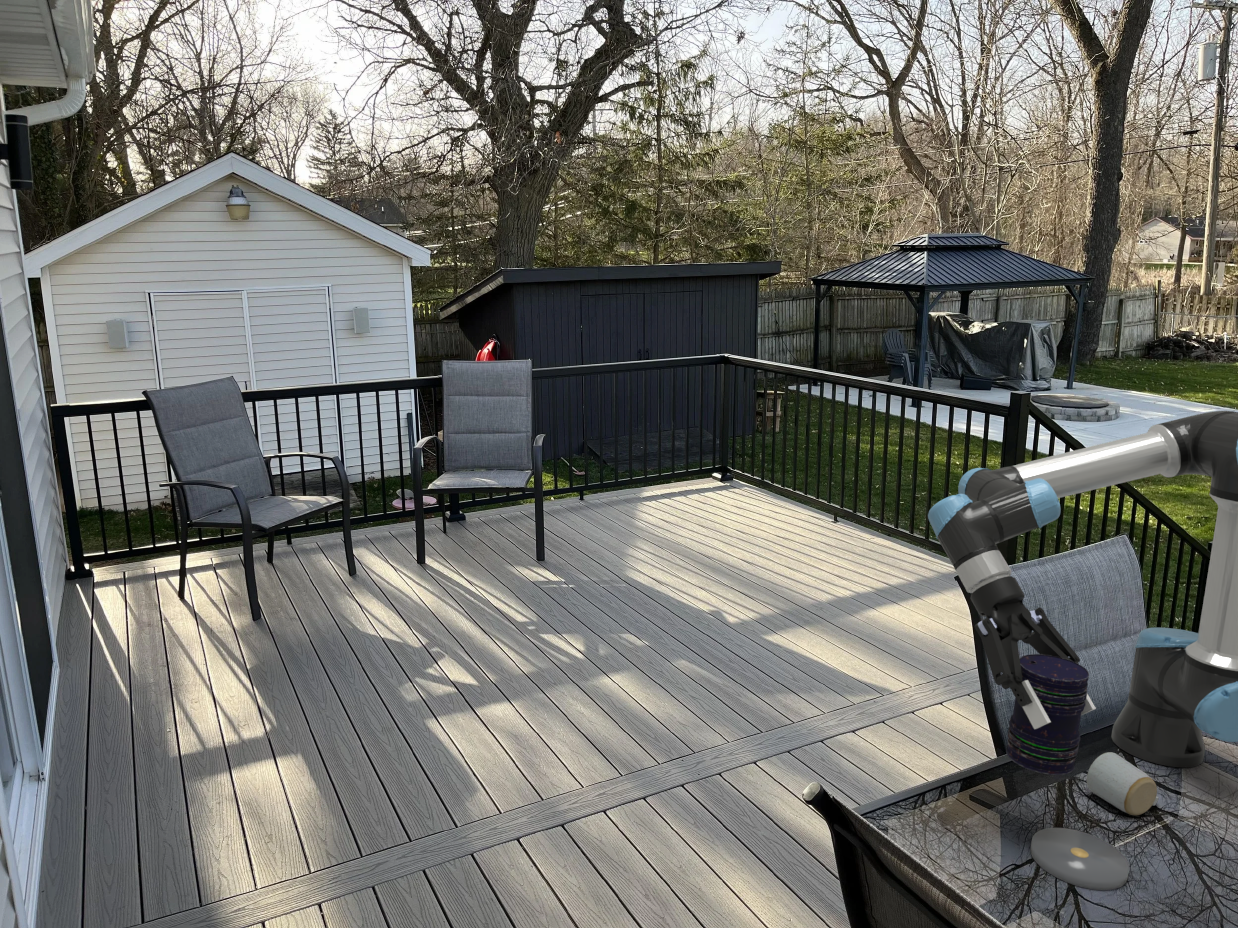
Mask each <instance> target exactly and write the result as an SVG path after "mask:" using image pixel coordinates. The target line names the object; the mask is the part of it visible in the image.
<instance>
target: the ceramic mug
mask: <svg viewBox="0 0 1238 928" xmlns="http://www.w3.org/2000/svg"><path fill="white" fill-rule="evenodd" d="M1086 786H1087V788H1088V789H1089V791H1091V793H1092V794H1094V795H1096V796H1097V797H1099V798H1101V799H1102V800H1104V801H1106V802H1107V803H1109V804H1110V805H1112V806H1113V807H1115V808H1117V809H1119V810H1120V811H1122V812H1123V813H1125V814H1127V815H1129V816H1141V815H1142V814H1144V813H1146V812H1147V811H1149V810H1150V808H1151V807H1152V806H1156V804H1157V803H1158V801H1159V796H1157V795H1158V788H1157V787H1158V786H1157V784H1156V782H1155V780H1153V778H1152V777H1151V776H1149V774H1147V773H1146V772H1145V771H1143V770H1141V769H1139V768H1138V767H1136V766H1135V765H1133V764H1132V763H1131V762H1129V761H1127V760H1126V759H1125V758H1123V757H1122V756H1120V755H1119V754H1118V753H1115V752H1111V751H1110V752H1108V751H1107V752H1104V753H1102V754H1100V755H1099V756H1097V757H1096V758H1095V759H1094V761H1093V762H1092V763H1091V764H1090V767H1089V769H1088V772H1087V775H1086Z"/></svg>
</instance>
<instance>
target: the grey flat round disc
mask: <svg viewBox="0 0 1238 928" xmlns="http://www.w3.org/2000/svg"><path fill="white" fill-rule="evenodd" d="M1031 838H1032V839H1031V842H1030V855H1031V857H1032V859H1033V860H1034V861H1035V863H1036V864H1037V865H1038V867H1040V868H1041V869H1043V870H1044V871H1045V872H1046V873H1048V874H1049V875H1051V876H1053V877H1055V878H1057V879H1059V880H1061V881H1063V882H1065V883H1067V884H1070V885H1073V886H1077V887H1079V888H1083V889H1089V890H1095V891H1110V890H1111V891H1112V890H1117V889H1119V888H1121V887H1123V886H1124V885H1126V883H1127V881H1128V878H1129V871H1130V864H1129V861H1128V859H1127V858H1126V856H1125V855H1124V854H1123V853H1122V852H1121V851H1120V850H1119V849H1118V848H1116V847H1115V846H1114V845H1112V844H1110V843H1109V842H1107V841H1105V840H1104V839H1102V838H1099V837H1097V836H1096V835H1093V834H1090V833H1087V832H1084V831H1081V830H1078V829H1077V830H1076V829H1072V828H1065V827H1048V828H1043V829H1040V830H1038V831H1036V832H1035V833H1034V834H1033V835H1032V837H1031Z"/></svg>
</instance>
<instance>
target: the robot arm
mask: <svg viewBox="0 0 1238 928" xmlns="http://www.w3.org/2000/svg"><path fill="white" fill-rule="evenodd" d="M1157 475H1161V476H1163V477H1165V478H1173V477H1177V476H1181V475H1182V476H1183V475H1199V476H1207V477H1211V480H1210V489H1209V496H1210V497H1211V499H1212V500H1213V501H1214V502H1215V503H1216V504H1217V508H1218V509H1217V513H1216V519H1215V524H1214V525H1215V527H1214V532H1213V539H1212V544H1211V552H1210V558H1209V559H1210V560H1209V564H1208V570H1207V571H1208V572H1207V578H1206V581H1205V582H1206V584H1205V591H1204V596H1203V602H1202V603H1203V604H1202V609H1201V613H1200V614H1201V615H1200V621H1199V628H1198V632H1194V631H1192V630H1185V629H1179V628H1173V627H1172V628H1170V627H1157V626H1156V627H1148V628H1145V629H1142V630H1141V631H1140V632H1139V634H1138V636H1137V640H1136V644H1135V646H1134V648H1135V652H1134V660H1133V664H1132V665H1133V667H1132V671H1131V679H1130V685H1129V689H1128V690H1129V691H1128V698H1127V701H1126V702H1125V703H1126V704H1125V705H1124V707H1123V709H1122V710H1121V711H1120V712H1119V715H1118V717H1117V718H1116V720H1115V721H1114V723H1113V725H1112V730H1111V740H1112V742H1113V743H1114V744H1115V745H1116V746H1117V747H1118V748H1120V749H1121V750H1122V751H1124V752H1125V753H1128V754H1129V755H1130V756H1131V755H1132V756H1133V757H1136V758H1139V759H1140V760H1143V761H1146V762H1150V763H1154V764H1157V765H1161V766H1166V767H1173V768H1192V767H1193V768H1195V767H1197V766H1200V765H1201V764H1202V763H1203V762H1204V757H1205V753H1206V752H1205V751H1206V746H1205V741H1204V736H1203V733H1207V734H1209V735H1210V736H1212V737H1213V738H1215V739H1217V740H1220V741H1223V742H1228V743H1238V411H1234V410H1233V411H1232V410H1215V411H1209V412H1207V411H1206V412H1203V413H1198V414H1194V415H1189V416H1186V417H1181V418H1177V419H1174V420H1173V419H1172V420H1168V421H1165V422H1160V423H1156V424H1153V425H1152V426H1150V427H1149V428H1148V430H1147V432H1145V433H1140V434H1136V435H1133V436H1132V435H1131V436H1129V437H1124V438H1120V439H1116V440H1112V441H1109V442H1104V443H1100V444H1095V445H1092V446H1088V447H1083V448H1079V449H1075V450H1072V451H1067V452H1064V453H1060V454H1055V455H1051V456H1047V457H1043V458H1039V459H1035V460H1031V461H1027V462H1023V463H1018V464H1016V465H1010V466H1004V467H1001V468H996V469H989V468H986V467H985V468H984V467H983V468H982V467H976V468H972V469H970V470H968V471H966V472H965V473H964V474H963V475H962V477H961V478H960V480H959V483H958V487H957V488H958V489H957V490H958V493H957V494H954V495H949V496H947V497H945V498H943V499H941V500H939V501H937V502H936V503H935V504H934V505H933V506H932V507H931V508H930V509H929V511H928V513H927V518H928V521H929V523H930V525H931V527H932V528H931V529H932V530H933V532H934V534H935V536H936V537H935V538H936V540H938V542H939V543H940V545H941V546H942V548H943V551H944V552H945V553H946V554H945V555H947V557H948V559H949V560H950V561H949V562H950V563H951V564H952V566H953V568H954V570H955V572H956V573H957V575H958V577H959V579H960V581H961V583H962V585H963V587H964V588H965V590H966V592H967V593H968V594H969V593H970V601H971V602H972V604H973V606H974V608H975V610H976V611H977V613H978V615H979V616H980V617H984V619H982V620H981V621H979V622H978V623H976V624H974V628H975V631H976V633H977V634H978V635H979V638H980V639H981V643H982V645H983V646H982V647H983V648H984V653H985V656H986V658H987V661H988V665H989V668H990V671H991V674H992V677H993V678H992V679H993V681H994V683H995V684H996V685H997V686H1001V687H1002V688H1003V689H1004V690H1007V689H1009V690H1010V691H1011V692H1012V694H1013V696H1014V697H1016V700H1017V701H1018V703H1019V705H1020V706H1021V707H1023V709H1024V711H1025V713H1026V715H1027V717H1028V718H1029V720H1030V722H1031V724H1032V726H1033V728H1034V729H1037V728H1040V727H1042V726H1044V725H1046V724H1048V723H1050V722H1051V721H1050V719H1049V717H1048V716H1047V714H1046V712H1045V710H1044V708H1043V706H1042V705H1041V703H1040V701H1039V699H1038V697H1037V696H1036V694H1035V692H1034V690H1033V688H1032V686H1031V685H1030V683H1029V681H1028V680H1026V681H1023V682H1021V681H1022V672H1021V665H1020V658H1021V657H1020V651H1019V644H1018V643H1019V641H1021V642H1023V644H1026V645H1027V644H1028V645H1030V646H1031V648H1033V649H1034V650H1035V651H1036V652H1037V654H1043V655H1051V656H1056V657H1060V658H1064V659H1067V660H1070V661H1073V662H1075V663H1077V664H1079V663H1080V662H1081V658H1080V657H1079V655H1078V654H1077V653H1076V651H1075V650H1074V649H1073V648H1072V647H1071V646H1070V644H1069V643H1068V642H1067V641H1066V640H1065V638H1064V637H1063V636H1062V634H1060V632H1059V631H1058V630H1057V629H1056V627H1055V626H1054V624H1052V623H1051V621H1050V620H1049V618H1048V616H1047V614H1046V613H1045V611H1044V608H1042V607H1037V608H1036V609H1034V610H1030V609H1028V608H1027V607H1026V606H1025V604H1024V603H1023V602H1024V598H1025V593H1024V592H1023V589H1022V588H1021V586H1020V585H1019V583H1018V581H1017V579H1016V577H1013V576H1011V575H1012V569H1011V568H1010V566H1009V565H1008V563H1007V561H1006V560H1005V557H1004V556H1003V554H1002V553H1001V551H1000V549H999V547H998V546H997V544H1000V543H1002V542H1004V541H1007V540H1010V539H1013V538H1015V537H1017V536H1020V535H1023V534H1025V533H1029V532H1031V531H1033V530H1036V529H1041V528H1043V527H1044V526H1046V525H1047V524H1050V523H1052V522H1054V521H1057V519H1059V517H1060V515H1061V504H1060V501H1059V499H1061V498H1064V497H1069V496H1072V495H1077V494H1081V493H1082V494H1083V493H1085V492H1089V491H1093V490H1098V489H1102V488H1103V489H1104V488H1105V487H1106V488H1107V487H1111V486H1115V485H1118V484H1123V483H1127V482H1131V481H1136V480H1140V479H1144V478H1148V477H1152V476H1157ZM1079 665H1080V664H1079ZM1096 709H1097V707H1096V706H1095V705H1094V703H1093V701H1092V699H1091V697H1090V696H1089V694H1088V693H1087V697H1086V700H1085V707H1084V710H1083V711H1082V712H1081V716H1083V715H1085V714H1088V713H1090V712H1091V711H1094V710H1096ZM1202 732H1203V733H1202Z"/></svg>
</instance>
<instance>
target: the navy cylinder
mask: <svg viewBox="0 0 1238 928" xmlns="http://www.w3.org/2000/svg"><path fill="white" fill-rule="evenodd" d="M1020 665H1021V672H1022V681H1021V682H1023V681H1026V680H1028V681H1029V683H1030V685H1031V686H1032V688H1033V690H1034V692H1035V694H1036V696H1037V697H1038V699H1039V701H1040V703H1041V705H1042V706H1043V708H1044V710H1045V712H1046V714H1047V716H1048V717H1049V719H1050V721H1051V722H1050V723H1048V724H1046V725H1044V726H1042V727H1040V728H1037V729H1034V728H1033V726H1032V724H1031V722H1030V720H1029V718H1028V717H1027V715H1026V713H1025V711H1024V709H1023V707H1021V706H1020V705H1019V703H1018V701H1017V700H1016V697H1015V696H1014V697H1015V698H1014V705H1013V712H1012V715H1011V716H1010V718H1009V721H1008V729H1007V745H1006V749H1005V752H1006V755H1007V757H1008V758H1009V759H1010V760H1011V761H1012V762H1013V763H1015V764H1017V766H1018V765H1019V767H1022V768H1025V769H1027V770H1028V771H1033V772H1036V773H1039V774H1045V775H1051V776H1053V775H1054V776H1061V775H1068V774H1070V773H1072V772H1074V770H1075V767H1076V759H1077V755H1078V753H1079V747H1080V741H1081V733H1080V725H1081V724H1080V723H1081V719H1082V718H1081V717H1082V715H1081V712H1082V711H1083V710H1084V707H1085V700H1086V697H1087V694H1088V686H1089V684H1088V681H1089V677H1090V673H1089V672H1090V671H1088V669H1086V668H1085V667H1084V666H1082V665H1081V664H1077V663H1075V662H1073V661H1070V660H1067V659H1064V658H1060V657H1056V656H1051V655H1043V654H1039V653H1032V654H1025V655H1022V656H1021V657H1020Z"/></svg>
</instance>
